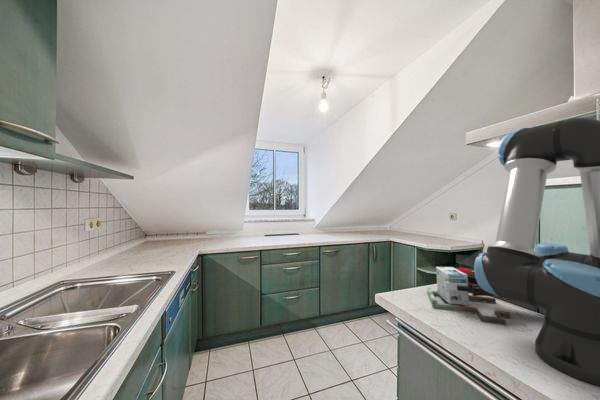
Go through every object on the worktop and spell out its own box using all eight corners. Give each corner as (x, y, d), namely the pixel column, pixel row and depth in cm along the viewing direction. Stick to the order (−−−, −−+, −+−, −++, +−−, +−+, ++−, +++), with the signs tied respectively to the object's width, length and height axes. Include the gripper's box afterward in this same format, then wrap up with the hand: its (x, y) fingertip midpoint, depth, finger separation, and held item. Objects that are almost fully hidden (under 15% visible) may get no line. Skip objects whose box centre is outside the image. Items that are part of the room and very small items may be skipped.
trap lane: (519, 327, 72) (519, 318, 72) (435, 314, 80) (435, 306, 80) (488, 296, 94) (488, 290, 94) (425, 288, 103) (425, 283, 103)
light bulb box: (469, 305, 83) (468, 274, 83) (449, 304, 84) (448, 274, 84) (454, 293, 93) (453, 266, 94) (436, 293, 94) (435, 266, 95)
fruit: (463, 283, 109) (463, 261, 109) (481, 290, 100) (480, 267, 100) (445, 284, 108) (445, 262, 108) (462, 292, 99) (461, 268, 99)
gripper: (533, 313, 71) (449, 302, 79) (500, 286, 93) (437, 280, 101) (533, 288, 71) (449, 280, 79) (499, 267, 93) (436, 262, 101)
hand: (442, 280), depth 90 cm, fingers closed on light bulb box, 11 cm apart
